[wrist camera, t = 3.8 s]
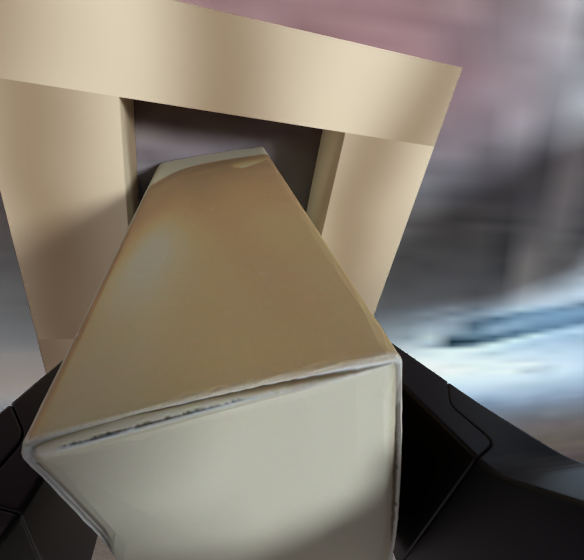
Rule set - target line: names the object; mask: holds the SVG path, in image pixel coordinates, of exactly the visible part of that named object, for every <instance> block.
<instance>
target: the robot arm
mask: <svg viewBox="0 0 584 560" xmlns="http://www.w3.org/2000/svg"><path fill="white" fill-rule="evenodd" d="M392 345H393V346H394V348H395V349H396V351H397V352H398V354H399V355H400V356H401V359H402V446H401V453H402V454H401V477H400V496H399V512H398V523H397V532H396V538H395V548H394V550H393V553H394V556H395V559H396V560H584V463H581V462H578V461H576V460H573V459H571V458H569V457H566V456H564V455H562V454H560V453H559V452H557V451H555V450H553V449H552V448H550V447H548V446H547V445H545V444H543V443H542V442H540V441H539V440H537V439H535V438H534V437H532V436H530V435H529V434H527V433H525V432H524V431H522V430H521V429H519V428H517V427H516V426H514V425H512V424H511V423H509V422H508V421H506V420H504V419H503V418H501V417H499V416H498V415H496V414H495V413H493V412H491V411H490V410H488V409H487V408H485V407H484V406H482V405H480V404H479V403H477V402H476V401H474V400H473V399H471V398H470V397H469V396H467V395H466V394H464V393H463V392H461V391H460V390H458V389H457V388H455V387H454V386H453V385H451V384H447V381H445V380H444V379H442V378H441V377H440V376H438V375H437V374H435V373H434V372H432V371H431V370H430V369H428V368H427V367H425V366H424V365H422V364H421V363H420V362H418V361H417V360H415V359H414V358H412V357H411V356H410V355H408V354H407V353H405V352H404V351H402V350H401V349H400V348H398V347H397V346H395V345H394V344H392ZM63 360H64V359H63ZM63 360H62V361H61V362H60V363H59V364H58V365H56V366H55V367H54V368H53V369H52V370H51V371H49V372H48V373H47V374H46V375H45V376H43V377H42V378H41V379H40V380H39V381H38V382H36V383H35V384H34V385H33V386H32V387H31V388H29V389H28V390H27V391H26V392H25V393H23V394H22V395H21V396H20V397H19V398H18V399H16V400H15V401H14V402H13V403H12V406H8V407H7V408H6V409H4V410H3V411H2V412H1V413H0V560H91V558H92V554H93V551H94V547H95V543H96V540H97V536H98V535H97V534H96V533H95V531H94V530H93V529H92V528H91V527H89V526H88V525H87V524H86V523H85V522H84V521H83V520H82V519H81V517H80V516H79V515H78V514H77V513H76V512H75V511H74V510H73V509H72V508H71V507H70V506H69V505H68V504H67V503H66V502H65V501H64V500H63V499H62V498H61V497H60V496H59V495H58V494H57V492H56V491H55V490H54V489H53V488H52V487H51V486H50V485H49V483H48V482H47V481H46V480H45V479H44V478H43V477H42V476H41V475H40V474H38V473H37V472H36V471H35V470H34V469H33V468H32V467H31V466H30V465H29V464H28V463H27V462H26V461H25V460H24V459H23V457H22V453H21V451H22V445H23V441H24V439H25V437H26V435H27V433H28V431H29V429H30V427H31V425H32V423H33V421H34V419H35V417H36V415H37V413H38V411H39V408H40V406H41V404H42V402H43V400H44V398H45V396H46V394H47V392H48V390H49V388H50V386H51V384H52V382H53V380H54V378H55V376H56V374H57V372H58V370H59V368H60V366H61V364H62V362H63Z"/></svg>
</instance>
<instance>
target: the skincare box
mask: <svg viewBox="0 0 584 560" xmlns="http://www.w3.org/2000/svg"><path fill="white" fill-rule="evenodd" d="M401 446H402V359H401V356H400V355H399V354H398V352H397V351H396V349H395V348H394V346H393V345H392V343H391V341H390V340H389V338H388V337H387V335H386V334H385V332H384V330H383V329H382V327H381V326H380V324H379V323H378V322H377V320H376V319H375V317H374V316H373V314H372V313H371V311H370V310H369V308H368V307H367V306H366V304H365V303H364V301H363V299H362V298H361V296H360V295H359V293H358V292H357V290H356V288H355V287H354V285H353V284H352V282H351V281H350V279H349V278H348V276H347V275H346V273H345V272H344V270H343V268H342V267H341V265H340V264H339V262H338V260H337V259H336V258H335V256H334V255H333V253H332V252H331V250H330V249H329V247H328V245H327V244H326V242H325V241H324V240H323V238H322V237H321V235H320V233H319V232H318V230H317V229H316V227H315V226H314V224H313V223H312V221H311V220H310V218H309V217H308V215H307V214H306V212H305V211H304V209H303V208H302V206H301V205H300V203H299V202H298V200H297V198H296V197H295V195H294V194H293V192H292V191H291V189H290V188H289V186H288V185H287V183H286V182H285V180H284V179H283V177H282V176H281V174H280V173H279V171H278V170H277V168H276V166H275V165H274V163H273V162H272V160H271V159H270V157H269V155H268V153H267V152H266V151H265V149H264V148H263V147H253V148H246V149H239V150H232V151H226V152H219V153H213V154H207V155H201V156H195V157H190V158H184V159H179V160H173V161H168V162H164V163H161V164H160V165H159V166H158V168H157V170H156V172H155V174H154V176H153V178H152V180H151V182H150V184H149V186H148V188H147V190H146V192H145V194H144V196H143V198H142V200H141V202H140V204H139V206H138V209H137V211H136V212H135V214H134V216H133V218H132V220H131V222H130V224H129V226H128V229H127V231H126V233H125V235H124V237H123V239H122V241H121V243H120V245H119V247H118V249H117V251H116V253H115V255H114V257H113V259H112V261H111V263H110V265H109V268H108V270H107V272H106V274H105V276H104V278H103V280H102V282H101V284H100V286H99V288H98V290H97V292H96V294H95V296H94V299H93V301H92V303H91V305H90V307H89V309H88V311H87V313H86V315H85V317H84V319H83V321H82V323H81V325H80V327H79V330H78V332H77V334H76V336H75V338H74V339H73V341H72V343H71V345H70V347H69V349H68V351H67V353H66V355H65V358H64V360H63V362H62V364H61V366H60V368H59V370H58V372H57V374H56V376H55V378H54V380H53V382H52V384H51V386H50V388H49V390H48V392H47V394H46V396H45V398H44V400H43V402H42V404H41V406H40V408H39V411H38V413H37V415H36V417H35V419H34V421H33V423H32V425H31V427H30V429H29V431H28V433H27V435H26V437H25V439H24V441H23V445H22V451H21V453H22V457H23V459H24V460H25V461H26V462H27V463H28V464H29V465H30V466H31V467H32V468H33V469H34V470H35V471H36V472H37V473H38V474H40V475H41V476H42V477H43V478H44V479H45V480H46V481H47V482H48V483H49V485H50V486H51V487H52V488H53V489H54V490H55V491H56V492H57V494H58V495H59V496H60V497H61V498H62V499H63V500H64V501H65V502H66V503H67V504H68V505H69V506H70V507H71V508H72V509H73V510H74V511H75V512H76V513H77V514H78V515H79V516H80V517H81V519H82V520H83V521H84V522H85V523H86V524H87V525H88V526H89V527H91V528H92V529H93V530H94V531H95V533H96V534H97V535H98V536H99V537H100V538H101V539H102V540H103V542H104V543H105V544H106V545H107V546H108V548H109V549H110V551H111V552H112V553H113V555H114V556H115V558H116V559H117V560H392V556H393V550H394V548H395V538H396V532H397V523H398V512H399V496H400V477H401V454H402V453H401Z"/></svg>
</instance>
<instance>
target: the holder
mask: <svg viewBox="0 0 584 560" xmlns="http://www.w3.org/2000/svg"><path fill="white" fill-rule="evenodd" d="M461 70H462V68H461V67H457V66H453V65H448V64H444V63H440V62H435V61H431V60H427V59H423V58H418V57H414V56H410V55H405V54H401V53H397V52H393V51H388V50H384V49H380V48H375V47H371V46H367V45H363V44H358V43H354V42H350V41H345V40H341V39H337V38H333V37H328V36H324V35H320V34H315V33H311V32H307V31H302V30H298V29H294V28H290V27H285V26H281V25H277V24H272V23H268V22H264V21H260V20H255V19H251V18H247V17H242V16H238V15H234V14H230V13H225V12H221V11H217V10H212V9H208V8H204V7H200V6H195V5H191V4H187V3H182V2H178V1H174V0H0V191H1V195H2V199H3V203H4V207H5V211H6V215H7V219H8V223H9V227H10V231H11V235H12V239H13V243H14V247H15V251H16V255H17V259H18V263H19V267H20V271H21V275H22V279H23V283H24V287H25V291H26V295H27V299H28V303H29V307H30V311H31V315H32V319H33V323H34V327H35V331H36V335H37V339H38V343H39V347H40V351H41V355H42V359H43V363H44V367H45V371H46V374H47V373H48V372H49V371H51V370H52V369H53V368H54V367H55V366H56V365H58V364H59V363H60V362H61V361H62V360H63V359H64V358H65V355H66V353H67V351H68V349H69V347H70V345H71V343H72V341H73V339H74V338H75V336H76V334H77V332H78V330H79V327H80V325H81V323H82V321H83V319H84V317H85V315H86V313H87V311H88V309H89V307H90V305H91V303H92V301H93V299H94V296H95V294H96V292H97V290H98V288H99V286H100V284H101V282H102V280H103V278H104V276H105V274H106V272H107V270H108V268H109V265H110V263H111V261H112V259H113V257H114V255H115V253H116V251H117V249H118V247H119V245H120V243H121V241H122V239H123V237H124V235H125V233H126V231H127V229H128V226H129V224H130V222H131V220H132V218H133V216H134V214H135V212H136V211H137V209H138V206H139V199H138V179H137V159H136V139H135V119H134V99H136V100H142V101H148V102H155V103H161V104H167V105H174V106H180V107H186V108H193V109H199V110H205V111H212V112H218V113H224V114H231V115H237V116H243V117H250V118H256V119H262V120H269V121H275V122H281V123H288V124H294V125H300V126H307V127H313V128H319V129H323V131H322V136H321V141H320V146H319V151H318V156H317V161H316V166H315V171H314V175H313V180H312V185H311V190H310V195H309V200H308V205H307V210H306V214H307V215H308V217H309V218H310V220H311V221H312V223H313V224H314V226H315V227H316V229H317V230H318V232H319V233H320V235H321V237H322V238H323V240H324V241H325V242H326V244H327V245H328V247H329V249H330V250H331V252H332V253H333V255H334V256H335V258H336V259H337V260H338V262H339V264H340V265H341V267H342V268H343V270H344V272H345V273H346V275H347V276H348V278H349V279H350V281H351V282H352V284H353V285H354V287H355V288H356V290H357V292H358V293H359V295H360V296H361V298H362V299H363V301H364V303H365V304H366V306H367V307H368V308H369V310H370V311H371V313H372V314H373V316H374V313H375V311H376V308H377V305H378V302H379V299H380V297H381V294H382V291H383V288H384V285H385V283H386V280H387V277H388V274H389V271H390V269H391V266H392V263H393V260H394V257H395V255H396V252H397V249H398V246H399V244H400V241H401V238H402V235H403V232H404V230H405V227H406V224H407V221H408V218H409V216H410V213H411V210H412V207H413V204H414V202H415V199H416V196H417V193H418V190H419V188H420V185H421V182H422V179H423V176H424V174H425V171H426V168H427V165H428V163H429V160H430V157H431V154H432V151H433V149H434V146H435V143H436V140H437V137H438V135H439V132H440V129H441V126H442V123H443V121H444V118H445V115H446V112H447V109H448V107H449V104H450V101H451V98H452V95H453V93H454V90H455V87H456V84H457V82H458V79H459V76H460V73H461Z"/></svg>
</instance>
